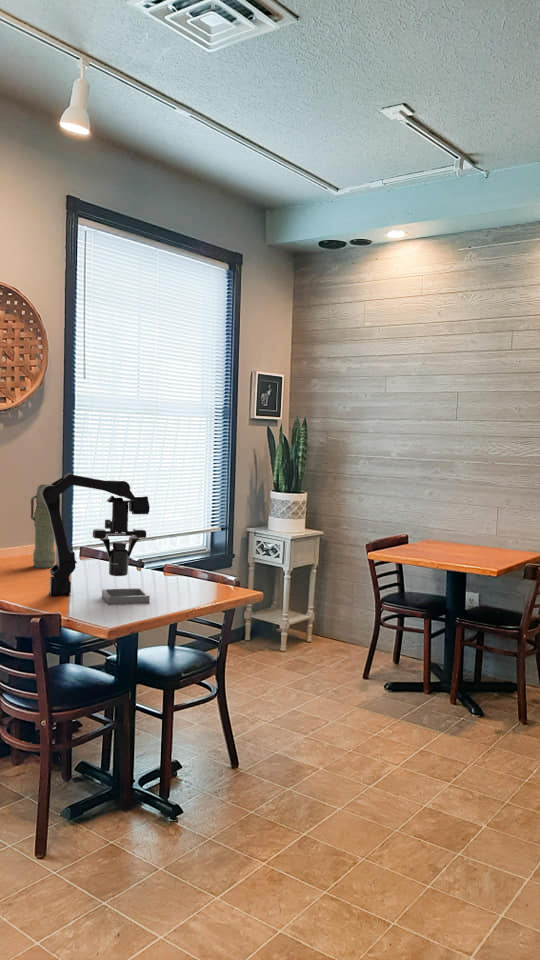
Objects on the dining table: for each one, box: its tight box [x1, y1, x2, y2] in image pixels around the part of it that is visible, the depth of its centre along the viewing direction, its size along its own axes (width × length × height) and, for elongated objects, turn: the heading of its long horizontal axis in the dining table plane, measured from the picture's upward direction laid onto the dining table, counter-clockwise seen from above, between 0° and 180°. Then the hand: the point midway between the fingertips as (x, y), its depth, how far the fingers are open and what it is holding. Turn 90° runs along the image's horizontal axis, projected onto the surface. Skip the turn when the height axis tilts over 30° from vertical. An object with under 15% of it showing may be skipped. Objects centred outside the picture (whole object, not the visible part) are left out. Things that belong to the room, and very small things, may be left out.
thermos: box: [30, 484, 61, 569], centre depth 330 cm, size 9×12×35 cm
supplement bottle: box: [108, 541, 129, 577], centre depth 284 cm, size 7×7×12 cm
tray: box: [101, 587, 151, 606], centre depth 271 cm, size 14×14×2 cm
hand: (118, 557), depth 284 cm, fingers closed on supplement bottle, 7 cm apart
